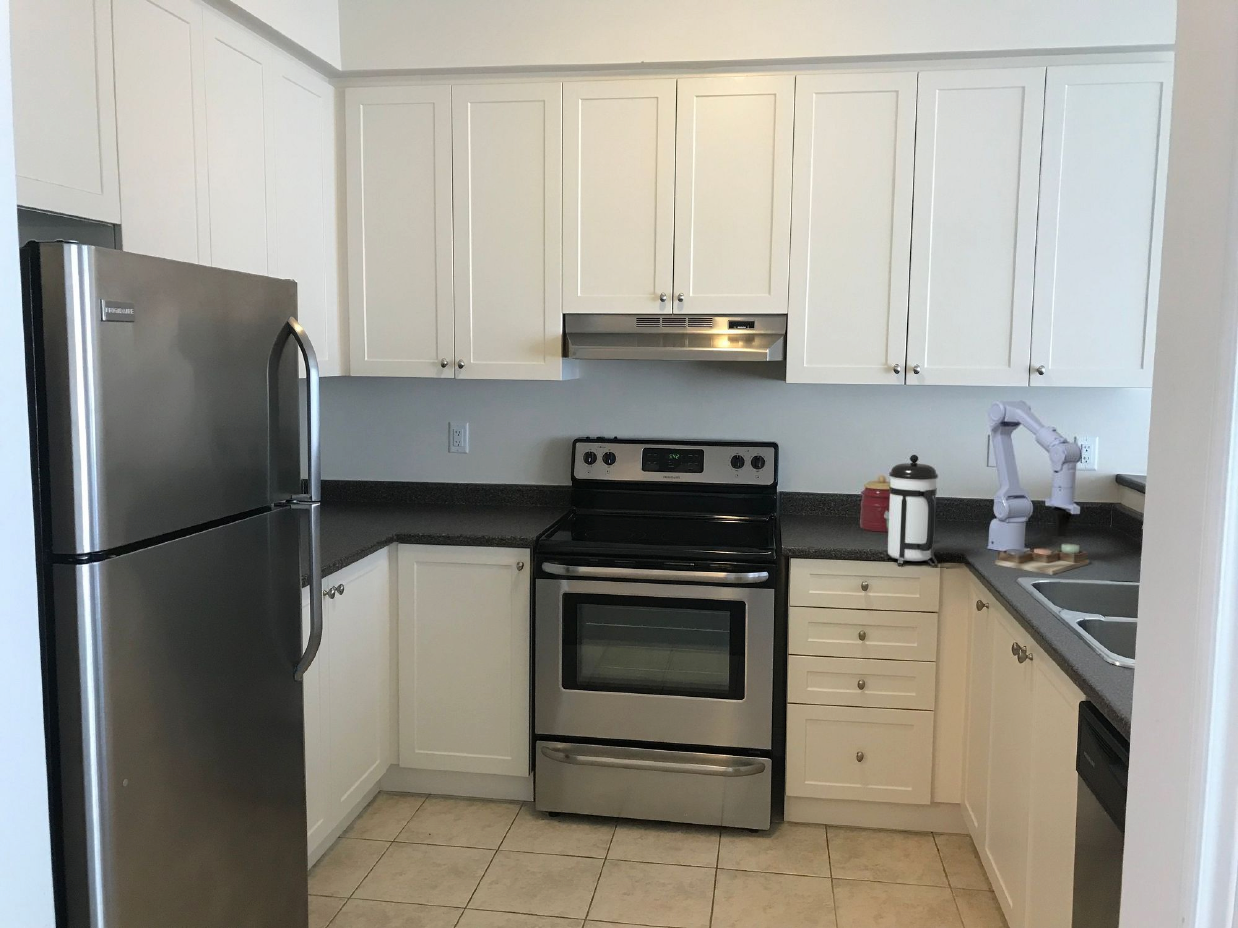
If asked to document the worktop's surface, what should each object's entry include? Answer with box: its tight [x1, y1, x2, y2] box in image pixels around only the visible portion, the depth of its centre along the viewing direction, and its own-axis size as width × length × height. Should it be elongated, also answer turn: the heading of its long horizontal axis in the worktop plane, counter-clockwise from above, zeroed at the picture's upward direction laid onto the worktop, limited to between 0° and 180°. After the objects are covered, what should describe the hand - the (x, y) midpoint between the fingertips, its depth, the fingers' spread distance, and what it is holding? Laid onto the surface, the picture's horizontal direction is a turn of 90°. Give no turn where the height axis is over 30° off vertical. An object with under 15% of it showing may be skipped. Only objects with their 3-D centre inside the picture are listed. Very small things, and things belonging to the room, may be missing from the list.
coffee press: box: [883, 454, 939, 568], centre depth 265 cm, size 17×16×30 cm
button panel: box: [994, 548, 1090, 576], centre depth 266 cm, size 16×21×3 cm
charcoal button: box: [1007, 549, 1024, 555], centre depth 266 cm, size 4×4×3 cm
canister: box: [859, 475, 891, 533], centre depth 318 cm, size 13×13×18 cm
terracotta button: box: [1033, 548, 1053, 555], centre depth 266 cm, size 4×4×3 cm
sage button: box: [1060, 543, 1080, 554], centre depth 267 cm, size 4×4×3 cm
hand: (1060, 535), depth 266 cm, fingers closed
